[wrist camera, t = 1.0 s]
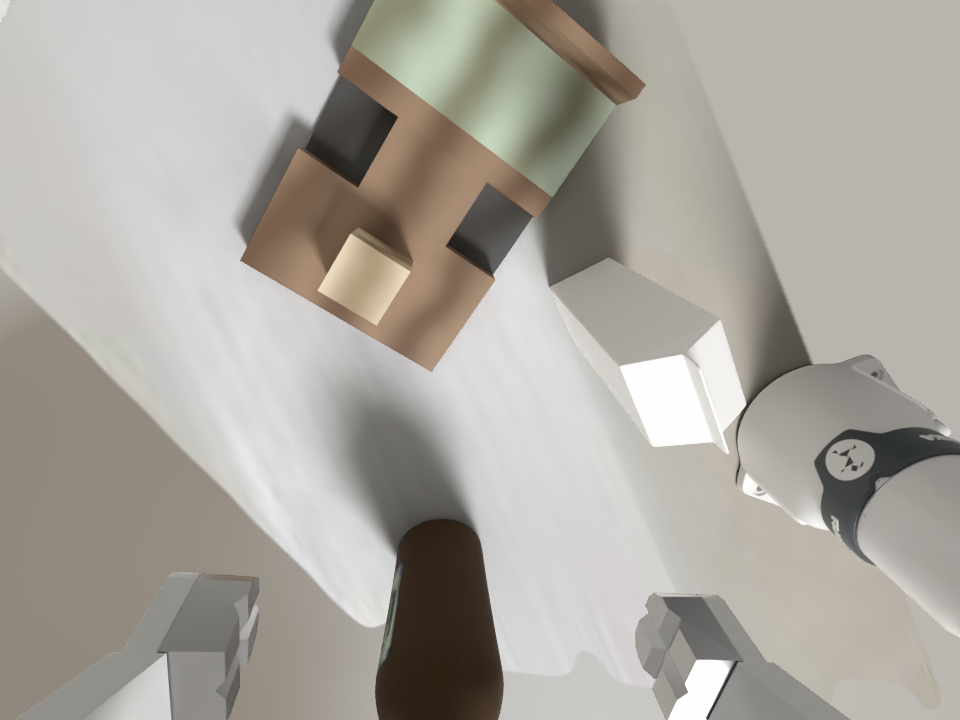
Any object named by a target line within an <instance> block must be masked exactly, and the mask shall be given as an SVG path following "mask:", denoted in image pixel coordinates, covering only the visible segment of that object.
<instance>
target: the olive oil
mask: <svg viewBox="0 0 960 720" xmlns="http://www.w3.org/2000/svg"><path fill="white" fill-rule="evenodd" d="M503 686H504V683H503V672H502V666H501V661H500V655H499V650H498V644H497V639H496V633H495V628H494V622H493V616H492V610H491V605H490V599H489V593H488V587H487V581H486V574H485V567H484V560H483V553H482V547H481V544H480V541H479V539H478V537H477V536H476V534H475V533H474V532H473V531H472V530H471V529H470V528H468V527H467V526H465V525H463V524H461V523H459V522H455V521H451V520H432V521H427V522H424V523H422V524H419V525H417V526H416V527H414V528H412V529H411V530H410V531H409V532H408V533H407V534H406V535H405V536H404V537H403V539H402V541H401V543H400V545H399V548H398V554H397V560H396V567H395V574H394V579H393V586H392V592H391V598H390V604H389V610H388V615H387V621H386V627H385V633H384V638H383V644H382V650H381V655H380V660H379V665H378V672H377V677H376V687H375V695H376V696H375V698H376V706H377V712H378V717H379V720H498V718H499V714H500V710H501V704H502V698H503Z"/></svg>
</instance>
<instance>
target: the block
mask: <svg viewBox="0 0 960 720" xmlns="http://www.w3.org/2000/svg"><path fill="white" fill-rule="evenodd" d="M412 265H413V261H411V260H410V259H408V258H406V257H405V256H403V255H402V254H400V253H399V252H397V251H396V250H394V249H393V248H391V247H389V246H388V245H386V244H385V243H383V242H382V241H380V240H379V239H377V238H375V237H374V236H372V235H371V234H369V233H368V232H366V231H365V230H363V229H362V228H360V227H358V228H357V229H356V230H355V231H353V232H352V233H351V234H350V235H349V237H348V239H347V241H346V242H345V244H344V246H343V248H342V249H341V251H340V253H339V254H338V256H337V258H336V260H335V261H334V263H333V265H332V267H331V268H330V270H329V272H328V273H327V275H326V277H325V279H324V280H323V282H322V284H321V286H320V287H319V289H318V291H319V292H321V293H322V294H324V295H326V296H327V297H329V298H331V299H332V300H334V301H336V302H337V303H339V304H341V305H343V306H344V307H346V308H348V309H349V310H351V311H353V312H354V313H356V314H358V315H359V316H361V317H363V318H365V319H366V320H368V321H370V322H371V323H373V324H375V325H376V326H377V324H378V323H379V321H380V319H381V318H382V316H383V315H384V313H385V312H386V310H387V308H388V307H389V305H390V304H391V302H392V300H393V299H394V297H395V296H396V294H397V293H398V291H399V289H400V288H401V286H402V285H403V283H404V282H405V280H406V278H407V277H408V275H409V274H410V272H411V269H412Z"/></svg>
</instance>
